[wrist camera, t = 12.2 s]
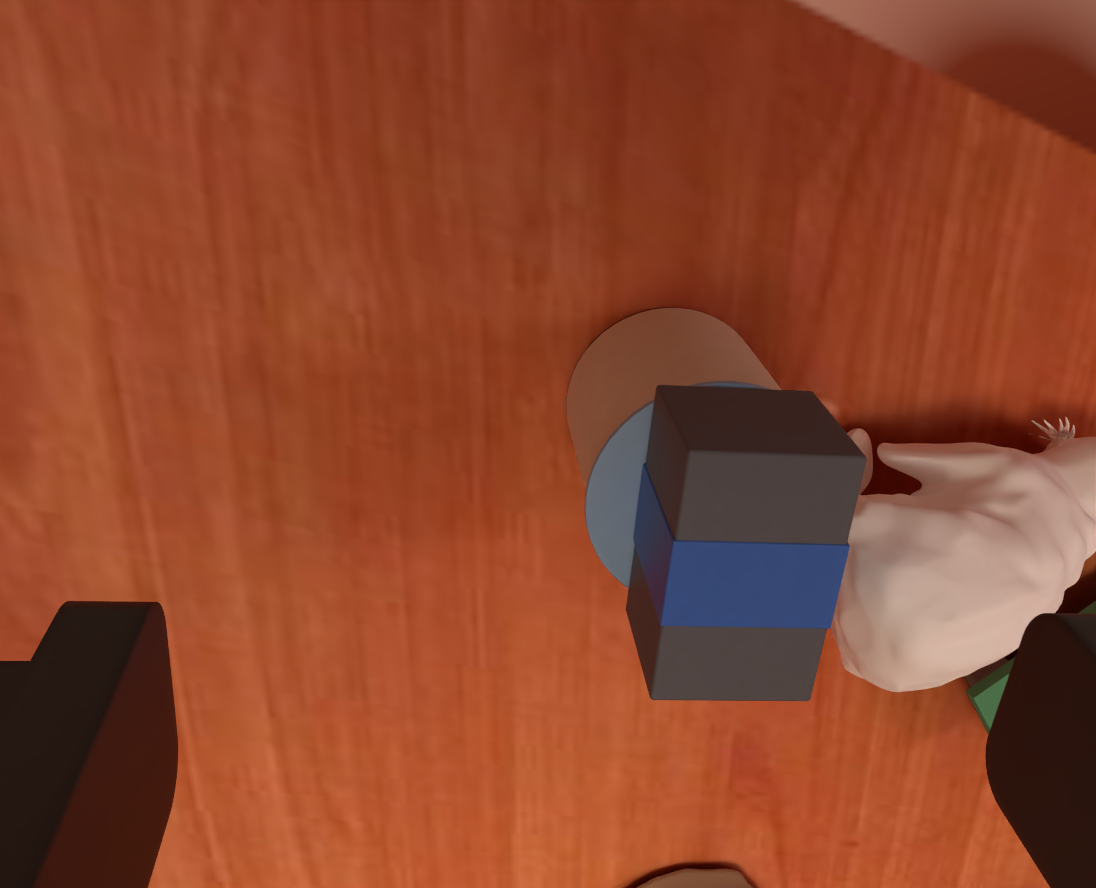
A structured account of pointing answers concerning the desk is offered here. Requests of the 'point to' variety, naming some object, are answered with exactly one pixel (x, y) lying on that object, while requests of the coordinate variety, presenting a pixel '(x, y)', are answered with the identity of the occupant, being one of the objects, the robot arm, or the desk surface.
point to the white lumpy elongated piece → (961, 555)
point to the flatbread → (699, 879)
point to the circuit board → (994, 684)
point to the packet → (739, 542)
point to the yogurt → (641, 408)
